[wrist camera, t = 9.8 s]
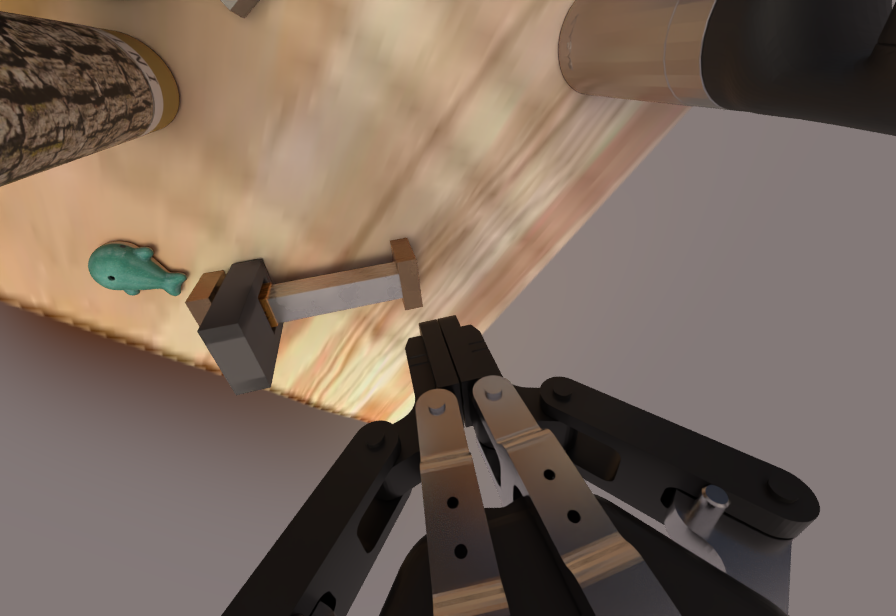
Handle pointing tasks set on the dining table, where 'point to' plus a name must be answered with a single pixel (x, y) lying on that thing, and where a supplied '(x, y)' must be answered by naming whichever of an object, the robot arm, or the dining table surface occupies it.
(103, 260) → the whale figurine
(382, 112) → the dining table surface
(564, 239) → the dining table surface
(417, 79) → the dining table surface
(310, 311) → the grey bar with endplates
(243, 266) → the collar
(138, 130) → the paper tube
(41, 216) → the dining table surface
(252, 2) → the grey cube
